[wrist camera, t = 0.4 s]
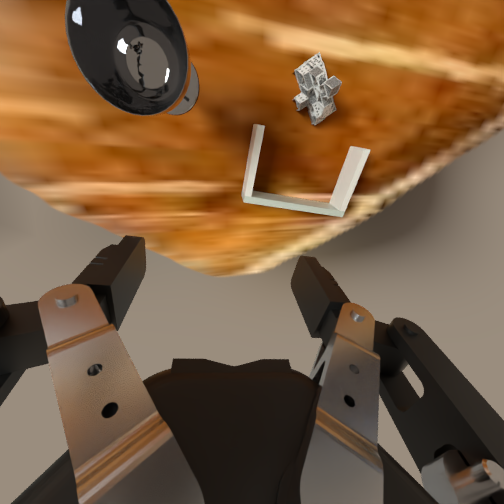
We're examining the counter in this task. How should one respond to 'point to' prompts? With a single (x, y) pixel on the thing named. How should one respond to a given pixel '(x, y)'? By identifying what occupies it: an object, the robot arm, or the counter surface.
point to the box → (333, 208)
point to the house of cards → (316, 89)
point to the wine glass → (133, 54)
